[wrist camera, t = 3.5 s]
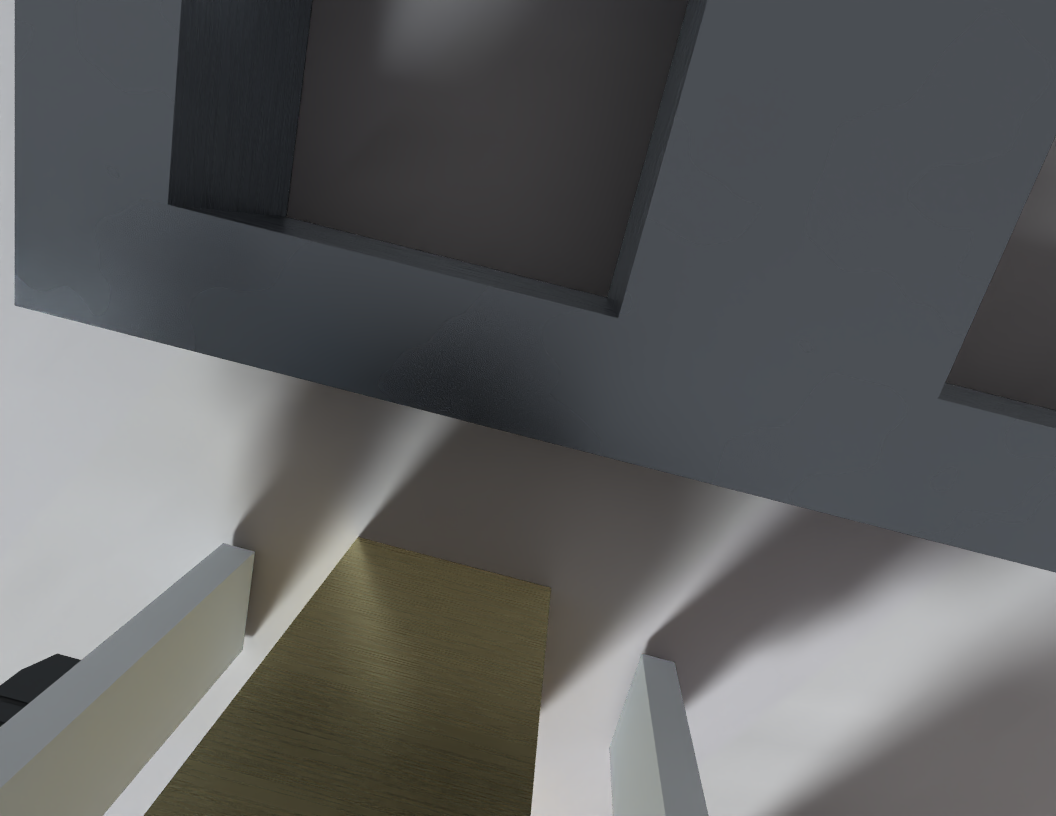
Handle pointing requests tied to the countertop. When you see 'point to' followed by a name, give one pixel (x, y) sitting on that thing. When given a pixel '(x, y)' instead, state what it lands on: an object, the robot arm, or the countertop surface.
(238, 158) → the grey flat slotted block
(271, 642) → the countertop surface
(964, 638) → the countertop surface
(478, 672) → the brass block
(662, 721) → the robot arm
